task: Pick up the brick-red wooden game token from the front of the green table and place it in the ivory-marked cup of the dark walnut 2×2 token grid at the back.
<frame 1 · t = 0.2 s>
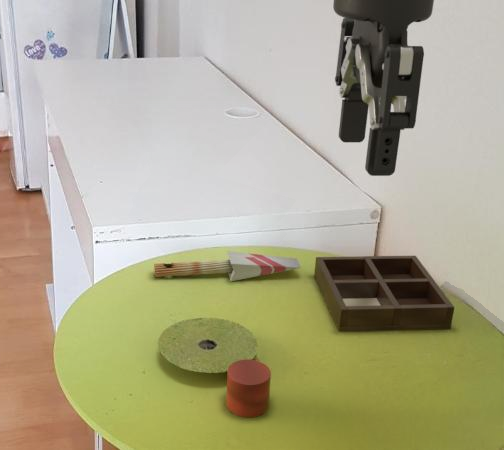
hand: (364, 156, 63), 28 cm above the table, tool pointing down, fingers open, 8 cm apart
mat: (207, 358, 86), on the table
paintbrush: (226, 276, 104), on the table
token: (247, 403, 78), on the table
grid: (378, 301, 98), on the table
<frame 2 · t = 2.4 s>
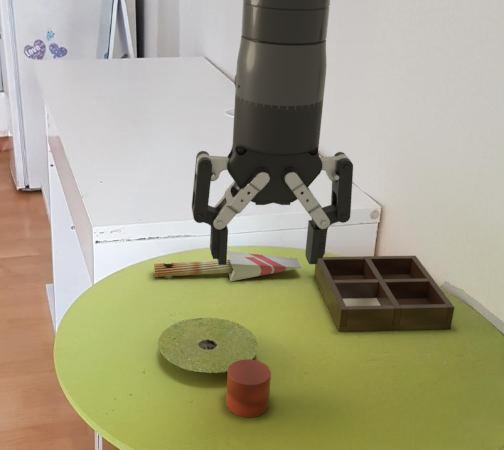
hand: (266, 261, 71), 17 cm above the table, tool pointing down, fingers open, 8 cm apart
nothing on the table moved.
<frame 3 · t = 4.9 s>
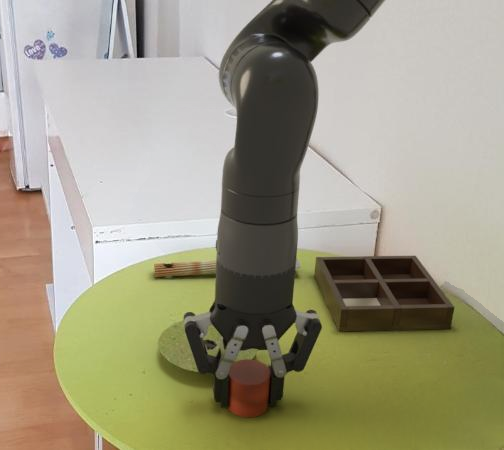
hand: (247, 401, 78), 0 cm above the table, tool pointing down, fingers closed on token, 4 cm apart
token: (247, 403, 78), on the table, touching gripper
everything else where it was.
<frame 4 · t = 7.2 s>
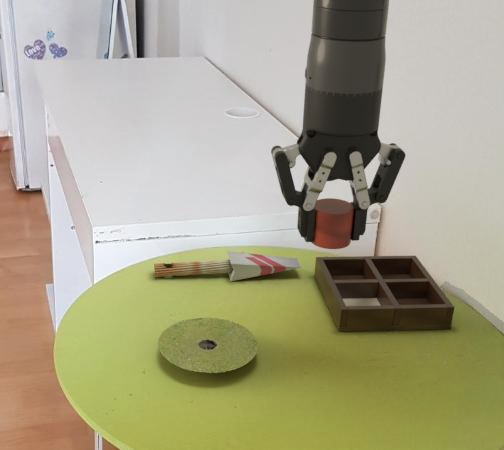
hand: (330, 237, 81), 15 cm above the table, tool pointing down, fingers closed on token, 4 cm apart
token: (330, 240, 81), point 14 cm above the table, touching gripper
everything else where it was.
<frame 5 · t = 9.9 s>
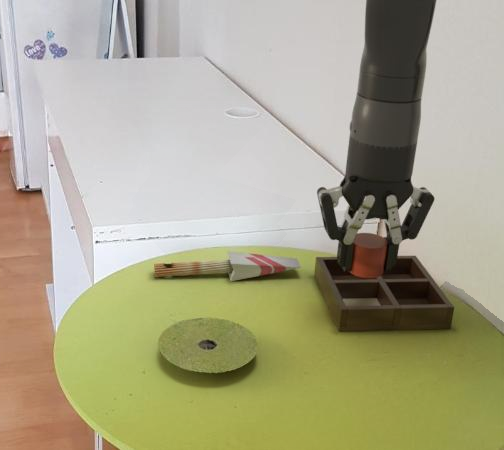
hand: (365, 267, 92), 7 cm above the table, tool pointing down, fingers closed on token, 4 cm apart
token: (365, 269, 92), point 6 cm above the table, touching gripper
everything else where it was.
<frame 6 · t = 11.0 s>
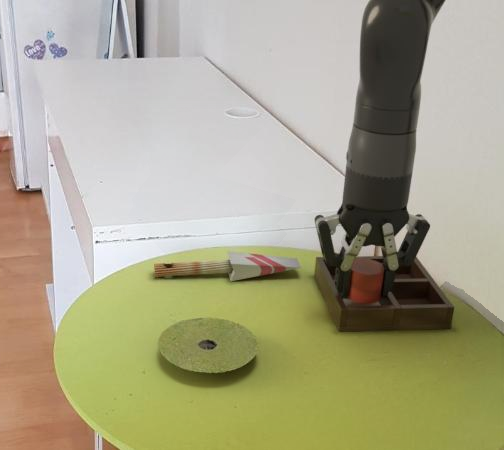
hand: (363, 292, 93), 3 cm above the table, tool pointing down, fingers closed on token, 4 cm apart
token: (362, 295, 94), point 3 cm above the table, touching gripper
everything else where it was.
when the fingers open (4 cm above the table, at t = 15.2 s): token drops 2 cm, resting on grid.
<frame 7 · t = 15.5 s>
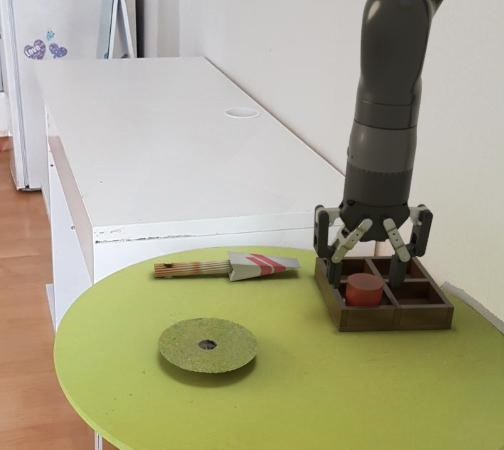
hand: (364, 285, 93), 4 cm above the table, tool pointing down, fingers open, 7 cm apart
token: (361, 309, 94), point 1 cm above the table, touching grid
everything else where it was.
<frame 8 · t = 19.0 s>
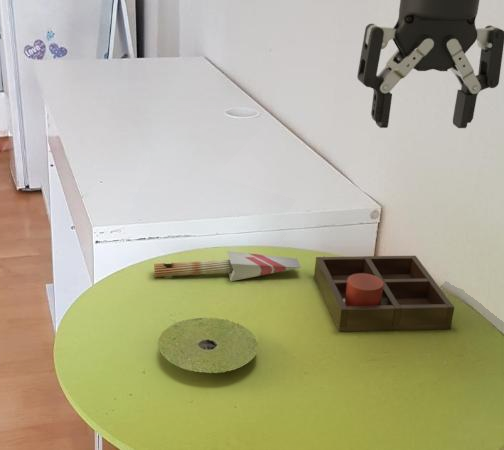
hand: (420, 126, 80), 26 cm above the table, tool pointing down, fingers open, 8 cm apart
nothing on the table moved.
at the end: token 0.1 cm from the target spot in the grid, point 0.8 cm above the grid's base; the gripper is holding nothing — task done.
